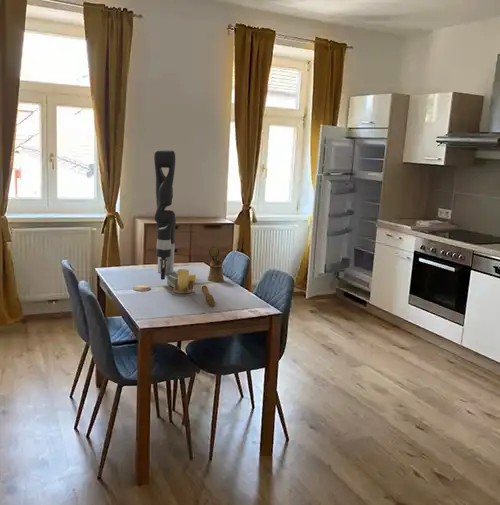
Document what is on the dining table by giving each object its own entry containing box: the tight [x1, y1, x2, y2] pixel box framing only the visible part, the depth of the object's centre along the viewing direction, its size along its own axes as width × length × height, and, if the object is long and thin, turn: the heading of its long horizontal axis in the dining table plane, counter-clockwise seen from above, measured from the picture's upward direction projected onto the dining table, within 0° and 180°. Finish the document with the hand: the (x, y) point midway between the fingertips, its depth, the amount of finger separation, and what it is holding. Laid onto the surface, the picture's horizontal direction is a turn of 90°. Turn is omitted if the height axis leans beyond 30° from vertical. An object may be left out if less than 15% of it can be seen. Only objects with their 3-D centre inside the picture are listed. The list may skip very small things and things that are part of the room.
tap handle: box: [201, 285, 215, 308], centre depth 277 cm, size 3×3×30 cm
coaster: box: [132, 284, 152, 292], centre depth 286 cm, size 9×9×1 cm
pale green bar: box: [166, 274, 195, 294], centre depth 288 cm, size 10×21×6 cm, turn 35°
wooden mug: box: [207, 245, 225, 283], centre depth 314 cm, size 9×14×18 cm, turn 18°
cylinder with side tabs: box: [175, 268, 197, 291], centre depth 284 cm, size 11×6×10 cm, turn 125°
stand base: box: [169, 289, 196, 297], centre depth 285 cm, size 13×13×1 cm
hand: (162, 279), depth 295 cm, fingers closed
